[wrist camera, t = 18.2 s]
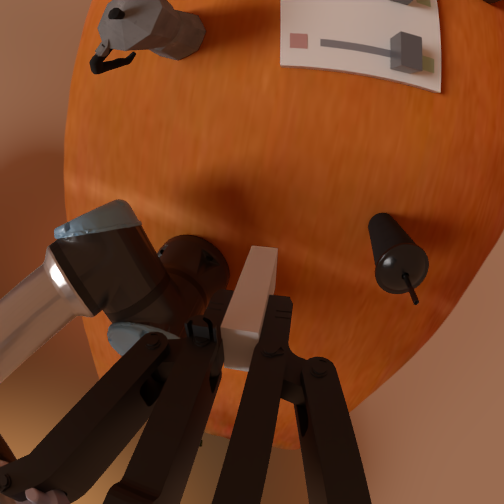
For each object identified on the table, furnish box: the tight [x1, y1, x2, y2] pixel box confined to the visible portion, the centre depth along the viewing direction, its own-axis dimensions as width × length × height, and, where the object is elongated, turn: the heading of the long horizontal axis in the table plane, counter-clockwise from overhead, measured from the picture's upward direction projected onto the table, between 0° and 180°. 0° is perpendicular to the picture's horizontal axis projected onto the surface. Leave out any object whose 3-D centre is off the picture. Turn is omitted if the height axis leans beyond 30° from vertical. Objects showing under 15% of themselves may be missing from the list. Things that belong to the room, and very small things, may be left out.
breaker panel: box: [280, 0, 441, 93], centre depth 26 cm, size 24×20×3 cm
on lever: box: [390, 31, 422, 74], centre depth 25 cm, size 3×5×5 cm, turn 179°
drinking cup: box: [368, 213, 429, 305], centre depth 35 cm, size 8×8×20 cm
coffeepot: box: [90, 0, 206, 74], centre depth 26 cm, size 15×9×18 cm, turn 134°
